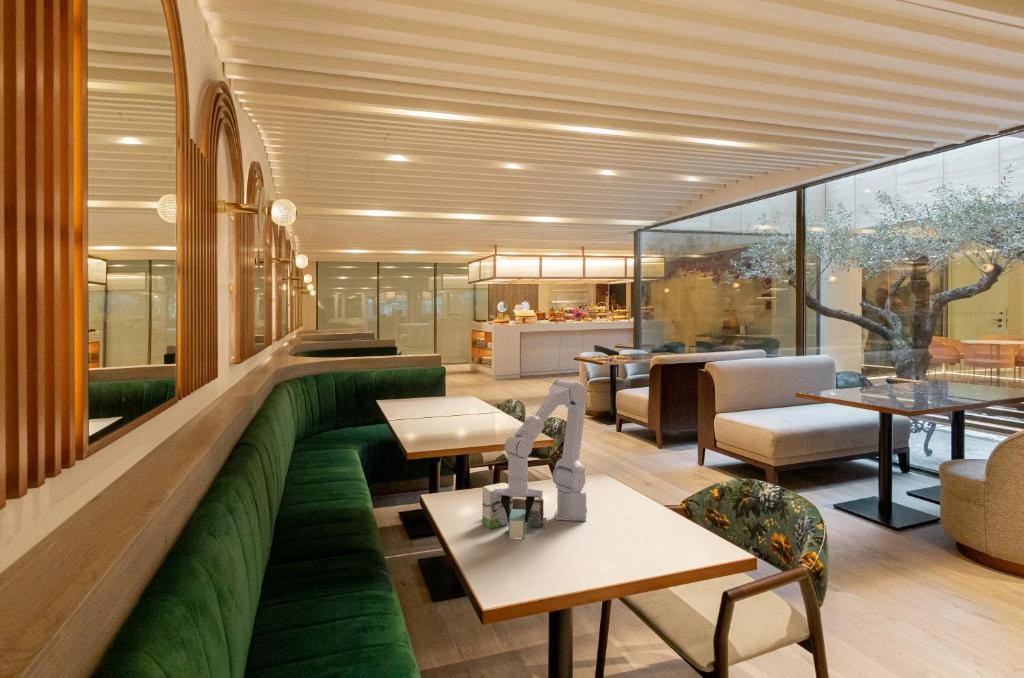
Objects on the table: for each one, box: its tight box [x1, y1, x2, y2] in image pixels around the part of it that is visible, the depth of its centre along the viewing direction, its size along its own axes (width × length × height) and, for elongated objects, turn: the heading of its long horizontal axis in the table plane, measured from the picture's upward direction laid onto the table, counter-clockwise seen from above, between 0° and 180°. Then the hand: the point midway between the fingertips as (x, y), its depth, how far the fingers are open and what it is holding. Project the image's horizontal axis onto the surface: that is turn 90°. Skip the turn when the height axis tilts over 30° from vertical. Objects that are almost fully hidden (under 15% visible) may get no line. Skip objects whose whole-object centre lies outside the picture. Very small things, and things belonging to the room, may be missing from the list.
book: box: [508, 509, 527, 540], centre depth 173 cm, size 4×8×6 cm, turn 174°
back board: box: [513, 497, 544, 519], centre depth 186 cm, size 17×1×6 cm, turn 84°
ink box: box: [481, 482, 514, 529], centre depth 181 cm, size 9×5×12 cm, turn 123°
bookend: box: [530, 502, 547, 530], centre depth 181 cm, size 4×8×6 cm, turn 174°
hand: (517, 520), depth 173 cm, fingers closed on book, 4 cm apart
